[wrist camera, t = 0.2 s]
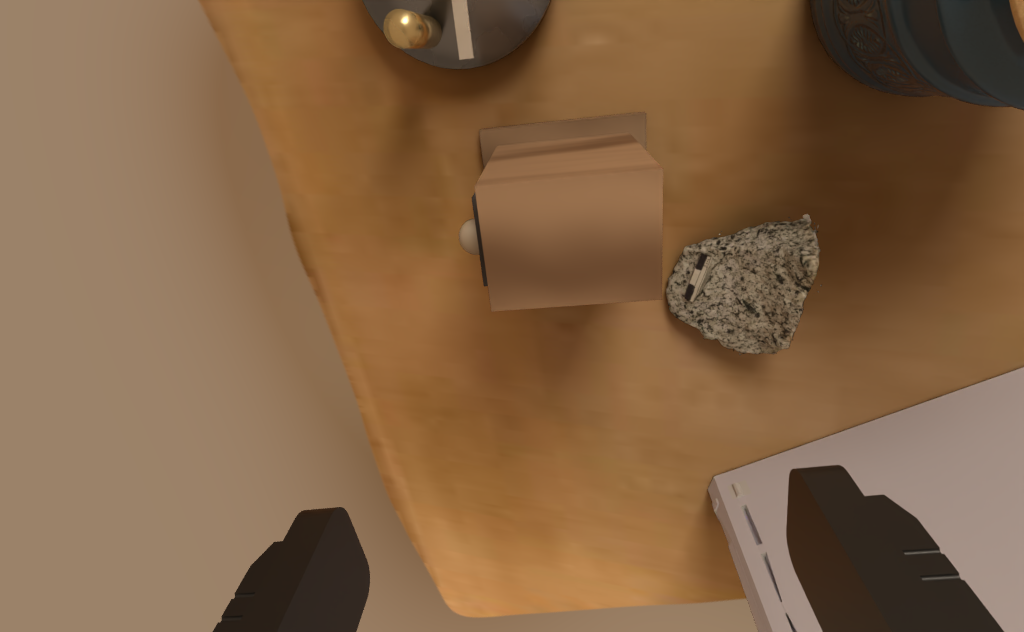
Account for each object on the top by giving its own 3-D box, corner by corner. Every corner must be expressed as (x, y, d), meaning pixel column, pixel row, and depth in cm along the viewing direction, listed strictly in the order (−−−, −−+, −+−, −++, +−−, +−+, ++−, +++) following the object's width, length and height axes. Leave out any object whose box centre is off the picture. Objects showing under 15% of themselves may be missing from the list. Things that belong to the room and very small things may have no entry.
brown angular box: (472, 129, 35) (436, 166, 24) (644, 111, 33) (688, 141, 23) (488, 251, 38) (463, 332, 27) (644, 238, 37) (683, 317, 26)
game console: (699, 477, 45) (797, 757, 27) (1079, 342, 38) (1548, 601, 20) (725, 524, 47) (830, 814, 29) (1090, 405, 40) (1524, 691, 22)
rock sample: (650, 233, 33) (791, 308, 28) (725, 170, 36) (863, 229, 31) (639, 338, 41) (746, 410, 36) (700, 279, 44) (807, 339, 39)
